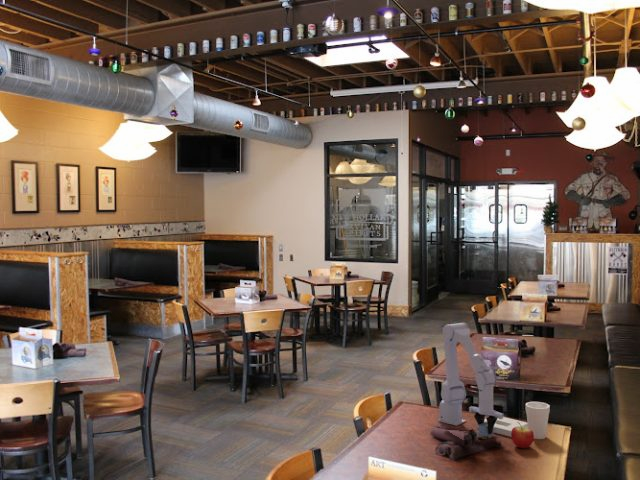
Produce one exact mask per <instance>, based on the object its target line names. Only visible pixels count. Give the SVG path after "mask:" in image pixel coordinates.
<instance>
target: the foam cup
mask: <svg viewBox="0 0 640 480" xmlns="http://www.w3.org/2000/svg"><path fill="white" fill-rule="evenodd" d="M550 406H551V405H550V404H548V403H546V402H541V401H529V402H526V403H525V413H526V418H527V419H526V420H527V423H528V429H530V430H532V431H533V434H534V439H533V440H544V439H545V438H546V436H547V431H548V423H549V422H548V421H549V415H550V412H551V411H550Z"/></svg>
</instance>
